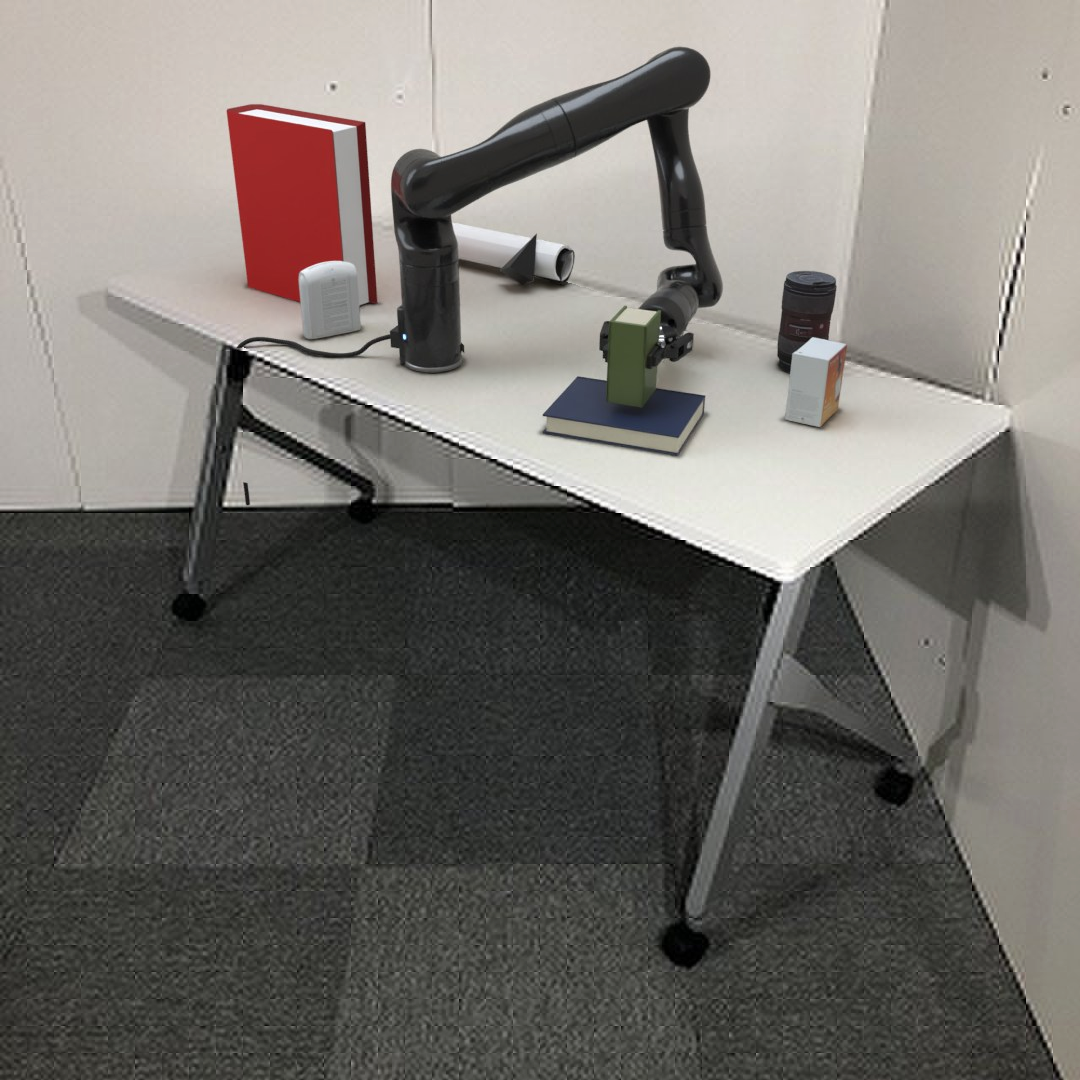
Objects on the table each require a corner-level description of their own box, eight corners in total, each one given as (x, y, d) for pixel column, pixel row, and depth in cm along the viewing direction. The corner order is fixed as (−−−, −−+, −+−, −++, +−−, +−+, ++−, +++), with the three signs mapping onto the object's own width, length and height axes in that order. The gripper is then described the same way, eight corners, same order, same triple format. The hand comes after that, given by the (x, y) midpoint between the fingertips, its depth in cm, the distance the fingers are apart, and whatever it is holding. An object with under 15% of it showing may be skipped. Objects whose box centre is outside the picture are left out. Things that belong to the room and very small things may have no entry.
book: (377, 303, 219) (365, 122, 203) (346, 315, 214) (331, 129, 198) (274, 275, 233) (255, 103, 217) (243, 285, 228) (221, 110, 212)
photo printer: (354, 323, 210) (348, 254, 204) (365, 330, 207) (360, 260, 201) (299, 334, 206) (292, 264, 199) (310, 342, 202) (303, 271, 196)
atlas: (542, 433, 172) (542, 414, 171) (577, 394, 184) (577, 376, 183) (677, 455, 166) (678, 436, 164) (704, 414, 178) (705, 395, 177)
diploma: (426, 270, 247) (389, 243, 235) (441, 228, 247) (406, 199, 235) (568, 303, 230) (536, 275, 218) (585, 258, 230) (554, 228, 219)
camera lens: (835, 371, 192) (848, 280, 185) (794, 380, 189) (806, 288, 182) (804, 354, 199) (816, 266, 191) (764, 362, 196) (774, 273, 188)
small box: (820, 428, 174) (829, 360, 168) (783, 420, 176) (791, 352, 171) (839, 409, 180) (848, 343, 174) (803, 401, 182) (811, 335, 177)
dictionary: (605, 401, 170) (609, 321, 164) (620, 383, 176) (624, 305, 170) (642, 407, 169) (646, 326, 163) (656, 389, 174) (661, 310, 168)
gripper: (617, 289, 181) (580, 326, 167) (710, 302, 177) (679, 341, 163) (615, 336, 185) (578, 376, 171) (705, 350, 180) (676, 392, 167)
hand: (628, 359), depth 167 cm, fingers closed on dictionary, 5 cm apart
